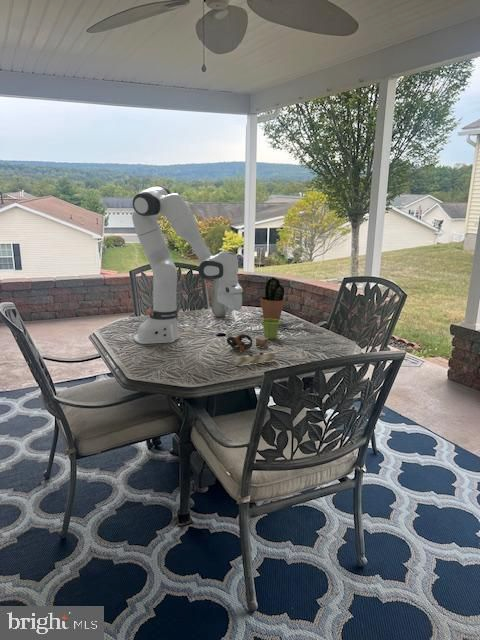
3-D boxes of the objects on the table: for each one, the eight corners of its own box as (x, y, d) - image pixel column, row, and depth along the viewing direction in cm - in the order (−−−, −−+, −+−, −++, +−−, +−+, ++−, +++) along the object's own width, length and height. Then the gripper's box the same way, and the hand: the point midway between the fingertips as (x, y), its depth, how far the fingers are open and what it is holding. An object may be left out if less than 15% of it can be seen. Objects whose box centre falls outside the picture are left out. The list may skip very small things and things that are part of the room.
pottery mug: (249, 346, 216) (254, 334, 211) (248, 360, 209) (253, 348, 204) (224, 340, 215) (229, 328, 209) (223, 354, 208) (227, 342, 202)
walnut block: (262, 348, 213) (262, 340, 212) (255, 346, 216) (256, 338, 215) (267, 346, 216) (268, 338, 215) (261, 344, 218) (261, 336, 217)
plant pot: (257, 338, 228) (258, 321, 226) (265, 333, 236) (266, 317, 234) (275, 341, 224) (275, 324, 222) (282, 336, 232) (283, 320, 230)
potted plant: (257, 322, 257) (258, 278, 251) (262, 316, 270) (264, 275, 263) (280, 324, 253) (283, 280, 247) (285, 319, 266) (287, 276, 259)
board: (237, 367, 188) (238, 356, 186) (235, 365, 189) (236, 355, 188) (275, 361, 195) (275, 351, 194) (273, 360, 197) (273, 350, 196)
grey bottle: (219, 313, 274) (219, 267, 267) (232, 316, 268) (233, 269, 261) (208, 316, 267) (208, 269, 260) (220, 319, 261) (221, 271, 253)
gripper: (213, 283, 218) (214, 311, 221) (231, 290, 200) (231, 321, 204) (225, 282, 220) (225, 309, 224) (244, 289, 203) (244, 319, 206)
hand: (228, 315), depth 214 cm, fingers closed
